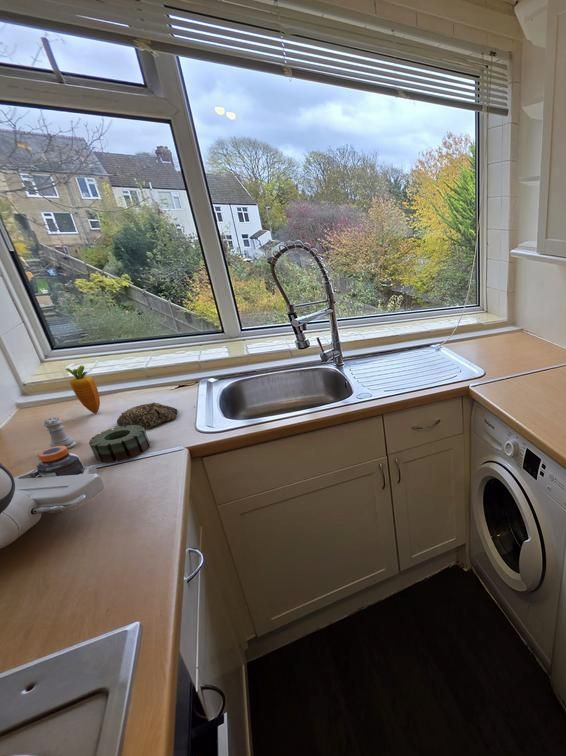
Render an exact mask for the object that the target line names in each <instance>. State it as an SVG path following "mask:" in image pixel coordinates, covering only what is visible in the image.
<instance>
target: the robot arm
mask: <svg viewBox="0 0 566 756" xmlns="http://www.w3.org/2000/svg"><path fill="white" fill-rule="evenodd" d="M83 467H84V468H82V469H81V470H80V471H81V473H82V474H79V475H67V476H53V477H41V475H40V473H39V471H38V469H37V468H35V469H34V468H33V469H31V470H29V471H28V472H26V473H23V474H20V475H17V476H15V477H14V476H13V474H12V473H11V472H10V471H9V470H8V469H7V467H5V465H3V464H2V463H0V550H1V549H3V548H5V547H7V546H9V545H11V544H13V542H15V541H16V540H17V539H18V538H19V537H21V536H23V534H25V533H26V532H27V531H29V530H30V529H31V528H32V527H34V526H35V525H36V524H37V523H39V521H40V520H41V519H42V514H47V513H49V514H50V513H61V512H67V511H72V510H75V509H77V508H79V507H81V506H82V505H85V503H87V502H88V501H90V500H92V499H93V498H94V497H96V496H97V495H98V494H100V493H101V492H102V491H104V488H105V485H104V484H105V483H104V481H103V479H102V477H101V476H100V475H99V474H98V473H97V472H98V469H97V467H96V465H95V464H94V465H93V464H92V465H84V466H83Z"/></svg>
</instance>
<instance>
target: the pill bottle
mask: <svg viewBox="0 0 566 756" xmlns="http://www.w3.org/2000/svg"><path fill="white" fill-rule="evenodd" d="M37 456H38V458H39V460H40V462H39V463H38V464H37V467H36V469H38V471H39V473H40V475H41V477H53V476H67V475H79V474H82V473H81V471H80V470H81V469H82V468H84V467H85V466H84V465H83V463H82V461H81V459H80V457H79V456H78V455H77V454H76V453H72V452H70V451H69V449H67V448H66V446H56V447H49V448H46V449H43V450H41V451H40V452H39V453H38V454H37Z"/></svg>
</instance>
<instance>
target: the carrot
mask: <svg viewBox="0 0 566 756" xmlns="http://www.w3.org/2000/svg"><path fill="white" fill-rule="evenodd" d="M65 370H66V372H69V373H70V374H71V375H72V376H73V377H75V378H73V379H70V381H69V385H70V386H71V389H72V391H73V393H74V395H75V396H76V398H77V400H78V401H79V402H80V403H81V405H83V407H85V409H87V410H88V411H89V412H91V413H92V414H94V415H95V414H98V412H99V409H100V406H101V399H100V393H99V390H98V387H97V384H96V381H95V380H94V378H92V377H91V376H88V375H87V374H88V371H86V370H85V365H83V364H82V365H81V364H80V365H79V366H77V368H74V369H71V368H69V367H67V368H66V369H65ZM84 370H85V371H84Z"/></svg>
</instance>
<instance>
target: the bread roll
mask: <svg viewBox="0 0 566 756" xmlns="http://www.w3.org/2000/svg"><path fill="white" fill-rule="evenodd" d="M178 412H179V410H178V408H175V407H172V406H168V405H164V404H161V403H159V402H150V403H145V404H140V405H136V406H133V407H131V408H129V409H127V410H126V411H124V412H121V415H119V417H118V418H117V420H116V424H117V426H118V427H121V426H124V427H126V426H127V425H136V426H137V425H139V426H142V427H143V428H144V429H151V428H153V427H155V426H157V425H159V424H161V423H164V422H170V421H173V420H175V419H176V418H177V414H178Z"/></svg>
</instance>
